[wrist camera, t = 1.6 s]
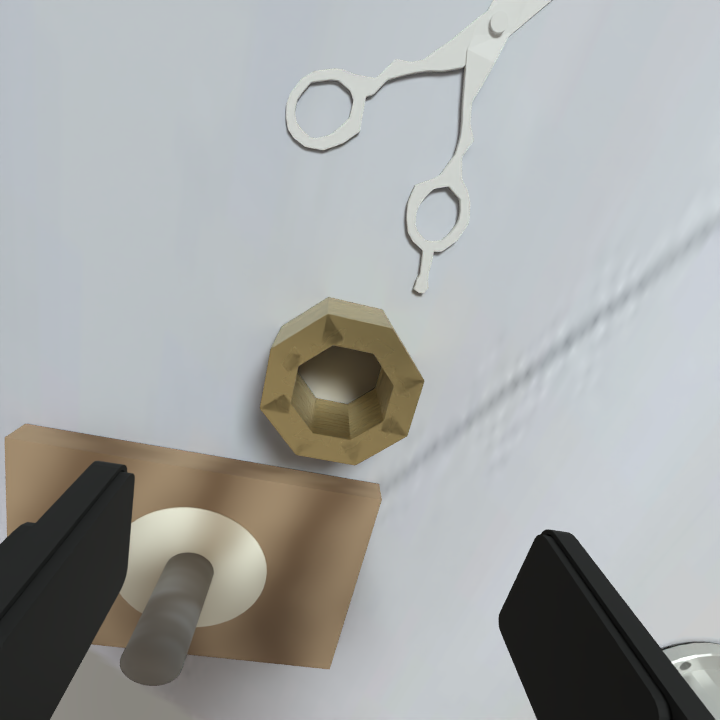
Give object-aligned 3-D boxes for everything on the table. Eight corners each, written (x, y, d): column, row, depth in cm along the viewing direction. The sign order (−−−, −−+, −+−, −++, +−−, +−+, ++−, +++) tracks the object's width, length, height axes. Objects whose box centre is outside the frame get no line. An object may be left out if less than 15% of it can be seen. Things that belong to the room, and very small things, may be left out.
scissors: (252, 145, 18) (593, -340, 14) (255, 148, 19) (580, -312, 15) (421, 295, 21) (752, -75, 17) (418, 293, 22) (734, -63, 18)
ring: (419, 318, 22) (437, 338, 18) (385, 432, 24) (395, 472, 20) (288, 287, 21) (279, 302, 17) (265, 409, 23) (252, 447, 19)
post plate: (378, 483, 25) (395, 578, 18) (329, 647, 29) (328, 772, 22) (25, 423, 22) (-105, 509, 16) (27, 613, 26) (-75, 744, 20)
